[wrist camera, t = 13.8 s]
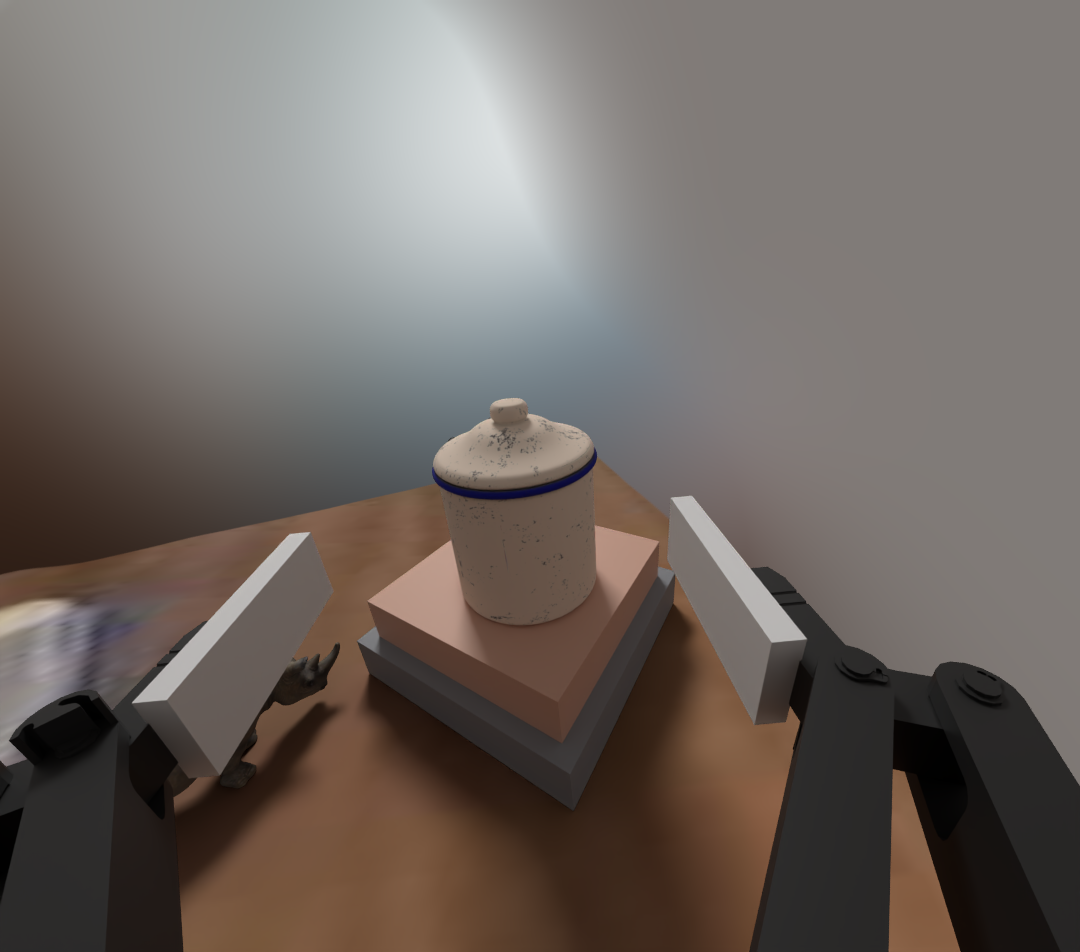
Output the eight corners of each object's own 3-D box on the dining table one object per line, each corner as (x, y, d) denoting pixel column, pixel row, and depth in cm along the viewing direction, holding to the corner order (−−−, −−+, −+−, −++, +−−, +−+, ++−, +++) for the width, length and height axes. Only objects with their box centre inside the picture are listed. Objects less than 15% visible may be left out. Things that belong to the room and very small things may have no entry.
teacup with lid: (630, 574, 26) (631, 392, 21) (520, 661, 21) (488, 446, 16) (512, 513, 34) (493, 372, 29) (412, 563, 29) (369, 402, 24)
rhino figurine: (369, 694, 27) (342, 625, 24) (74, 926, 18) (-19, 854, 15) (340, 662, 29) (313, 597, 27) (70, 851, 20) (-11, 779, 18)
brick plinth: (369, 672, 28) (343, 605, 26) (508, 549, 40) (500, 495, 37) (573, 811, 20) (566, 732, 17) (673, 602, 32) (677, 537, 29)
